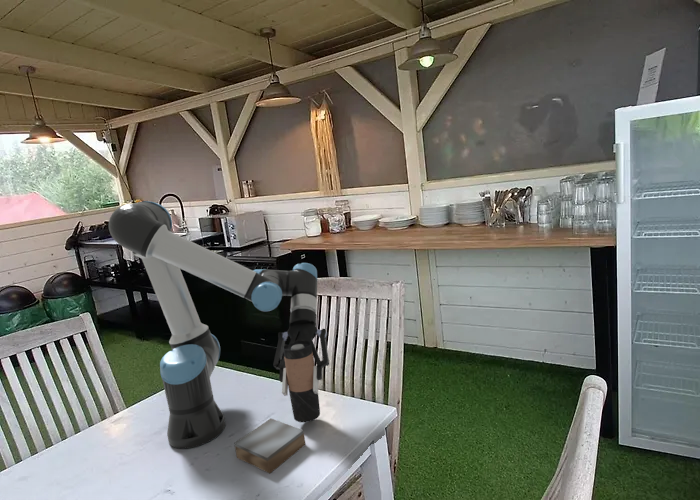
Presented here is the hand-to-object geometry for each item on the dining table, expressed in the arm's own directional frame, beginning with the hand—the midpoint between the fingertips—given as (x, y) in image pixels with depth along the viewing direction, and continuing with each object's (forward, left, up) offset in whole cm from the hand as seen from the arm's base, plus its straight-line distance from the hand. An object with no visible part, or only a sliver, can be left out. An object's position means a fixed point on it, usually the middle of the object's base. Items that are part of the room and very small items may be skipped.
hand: (300, 393), depth 115 cm
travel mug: (-2, +3, -9) cm, 9 cm away
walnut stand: (-2, -10, -11) cm, 15 cm away
